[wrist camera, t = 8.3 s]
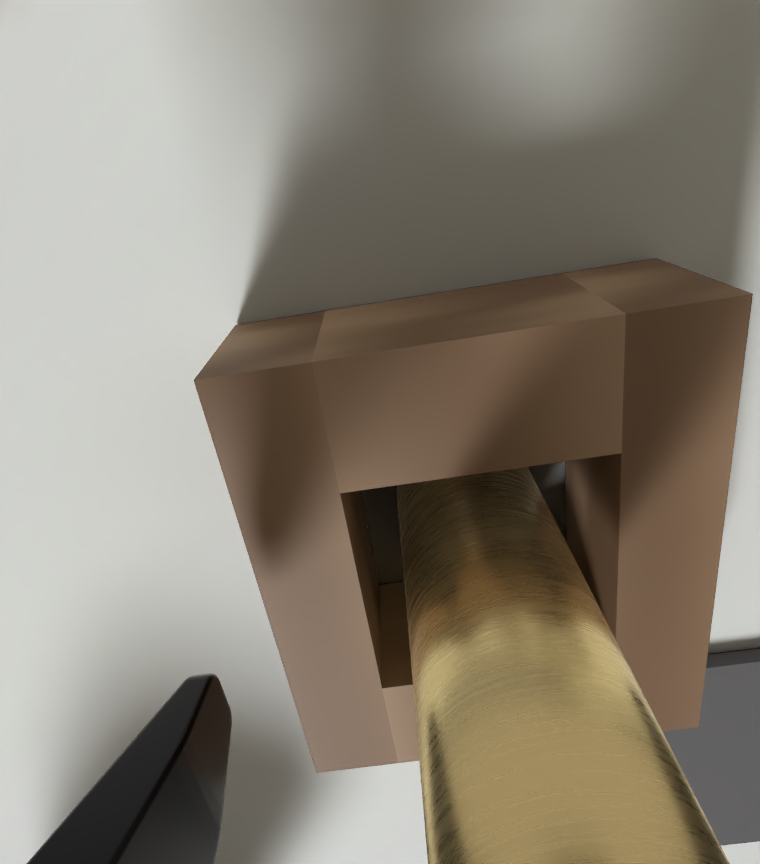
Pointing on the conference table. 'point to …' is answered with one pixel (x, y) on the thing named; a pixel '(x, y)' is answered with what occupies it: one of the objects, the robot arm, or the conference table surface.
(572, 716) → the pin
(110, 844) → the robot arm
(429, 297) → the pin block
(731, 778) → the mat
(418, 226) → the conference table surface
